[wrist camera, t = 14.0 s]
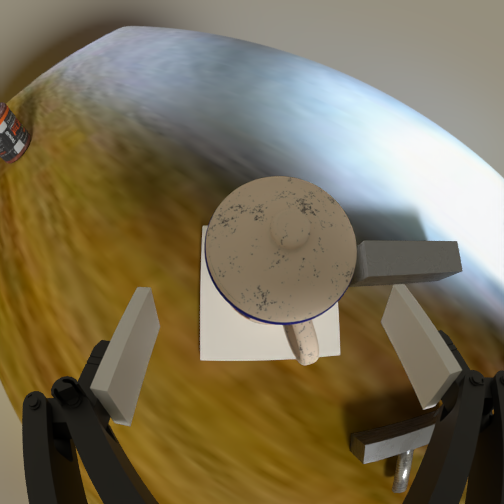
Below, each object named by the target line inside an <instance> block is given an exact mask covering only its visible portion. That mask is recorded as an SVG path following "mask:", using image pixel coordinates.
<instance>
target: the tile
mask: <svg viewBox="0 0 504 504" xmlns="http://www.w3.org/2000/svg"><path fill="white" fill-rule="evenodd" d="M207 228H208V226H203V227H202V251H201V288H200V360H215V361H251V360H281V359H296V358H295V356H294V354H293V352H292V350H291V348H290V346H289V343H288V340H287V338H286V335H285V332H284V328H283V325H263V324H258V323H255V322H252V321H250V320H247V319H246V318H244V317H242V316H241V315H240V314H238V313H237V312H236V311H235V310H234V309H233V308H232V307H231V306H230V304H229V303H228V302H227V301H226V300H225V299H224V298H223V297H222V296H221V295H220V293H219V292H218V290H217V289H216V287H215V286H214V284H213V282H212V280H211V278H210V275H209V273H208V270H207V266H206V261H205V253H204V243H205V236H206V231H207ZM312 322H313V325H314V328H315V332H316V335H317V339H318V344H319V357H325V356H335V355H340V333H339V312H338V302H337V303H336V304H335V305H334V306H333V307H332V308H330V309H329V310H328V311H326V312H325V313H323V314H322V315H320V316H318V317H316V318H314V319H312Z"/></svg>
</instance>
